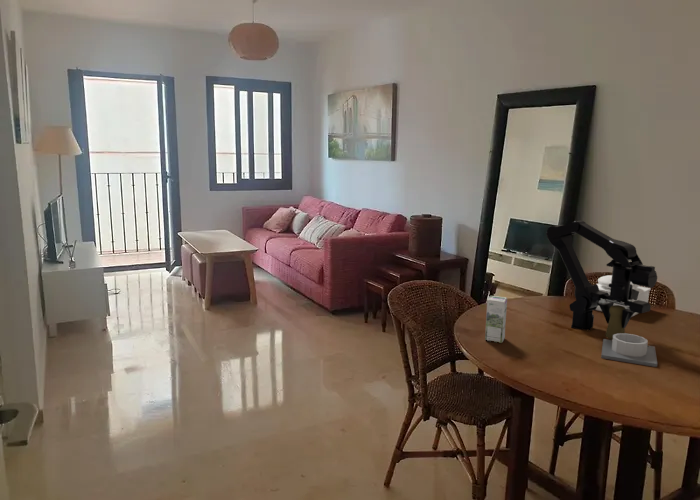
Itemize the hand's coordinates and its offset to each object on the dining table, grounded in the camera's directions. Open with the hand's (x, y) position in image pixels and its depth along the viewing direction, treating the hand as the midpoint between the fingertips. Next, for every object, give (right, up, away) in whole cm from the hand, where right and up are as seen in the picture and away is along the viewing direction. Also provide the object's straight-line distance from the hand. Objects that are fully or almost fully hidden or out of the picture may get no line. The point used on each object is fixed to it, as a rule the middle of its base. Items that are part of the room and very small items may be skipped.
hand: (616, 325), depth 183 cm
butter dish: (+17, +2, +34) cm, 38 cm away
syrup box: (-42, -4, -3) cm, 42 cm away
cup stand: (-3, -7, -14) cm, 16 cm away
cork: (0, -4, +1) cm, 4 cm away
